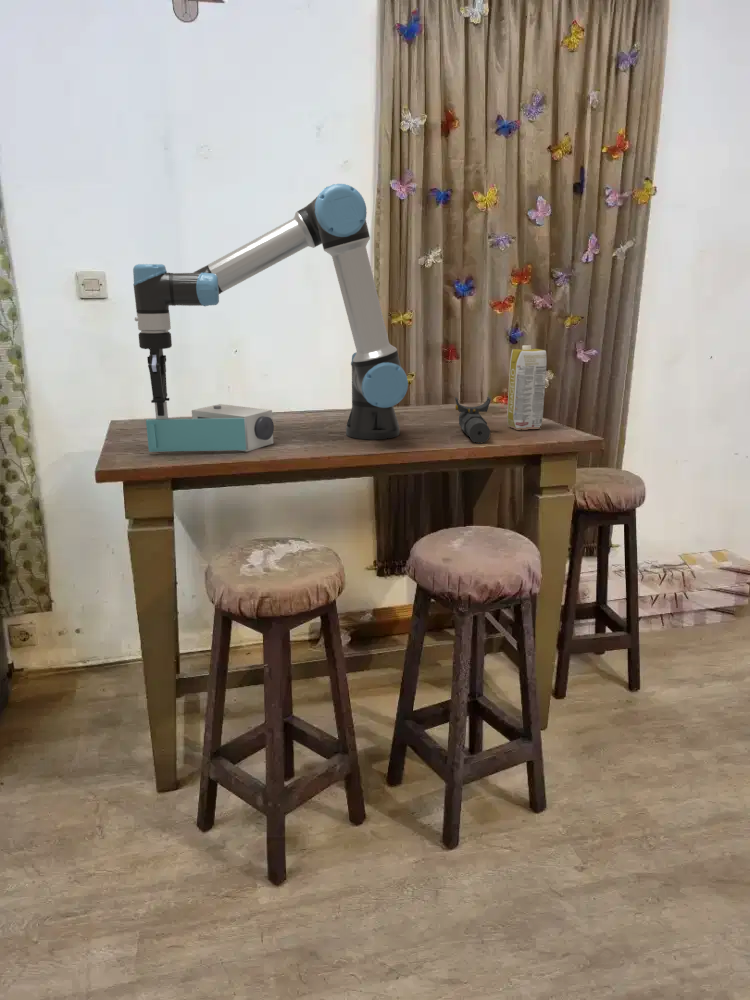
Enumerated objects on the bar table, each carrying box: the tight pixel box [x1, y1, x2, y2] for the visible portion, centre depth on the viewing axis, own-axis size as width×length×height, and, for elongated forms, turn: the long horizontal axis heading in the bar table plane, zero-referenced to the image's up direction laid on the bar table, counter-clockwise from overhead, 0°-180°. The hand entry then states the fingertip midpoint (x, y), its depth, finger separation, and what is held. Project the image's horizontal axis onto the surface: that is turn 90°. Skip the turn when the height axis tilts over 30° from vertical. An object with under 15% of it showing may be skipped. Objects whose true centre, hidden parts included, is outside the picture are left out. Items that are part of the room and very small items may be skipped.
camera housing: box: [191, 403, 275, 453], centre depth 192 cm, size 20×11×10 cm, turn 60°
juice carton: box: [506, 344, 547, 428], centre depth 210 cm, size 9×8×24 cm
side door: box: [145, 418, 248, 453], centre depth 181 cm, size 24×2×8 cm, turn 95°
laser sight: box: [454, 396, 492, 443], centre depth 203 cm, size 10×22×10 cm, turn 1°
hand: (162, 427), depth 182 cm, fingers closed
